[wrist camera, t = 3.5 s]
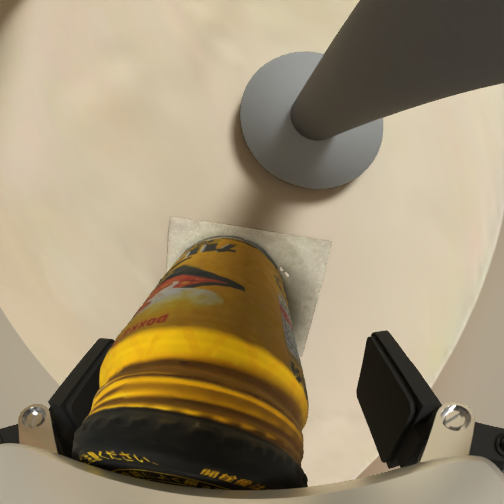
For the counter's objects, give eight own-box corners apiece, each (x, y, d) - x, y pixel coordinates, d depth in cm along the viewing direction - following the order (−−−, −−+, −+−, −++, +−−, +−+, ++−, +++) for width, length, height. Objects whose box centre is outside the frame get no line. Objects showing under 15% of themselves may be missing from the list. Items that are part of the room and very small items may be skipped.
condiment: (171, 216, 14) (-15, 350, 3) (331, 240, 14) (484, 411, 3) (165, 334, 16) (88, 508, 5) (301, 353, 16) (340, 537, 5)
